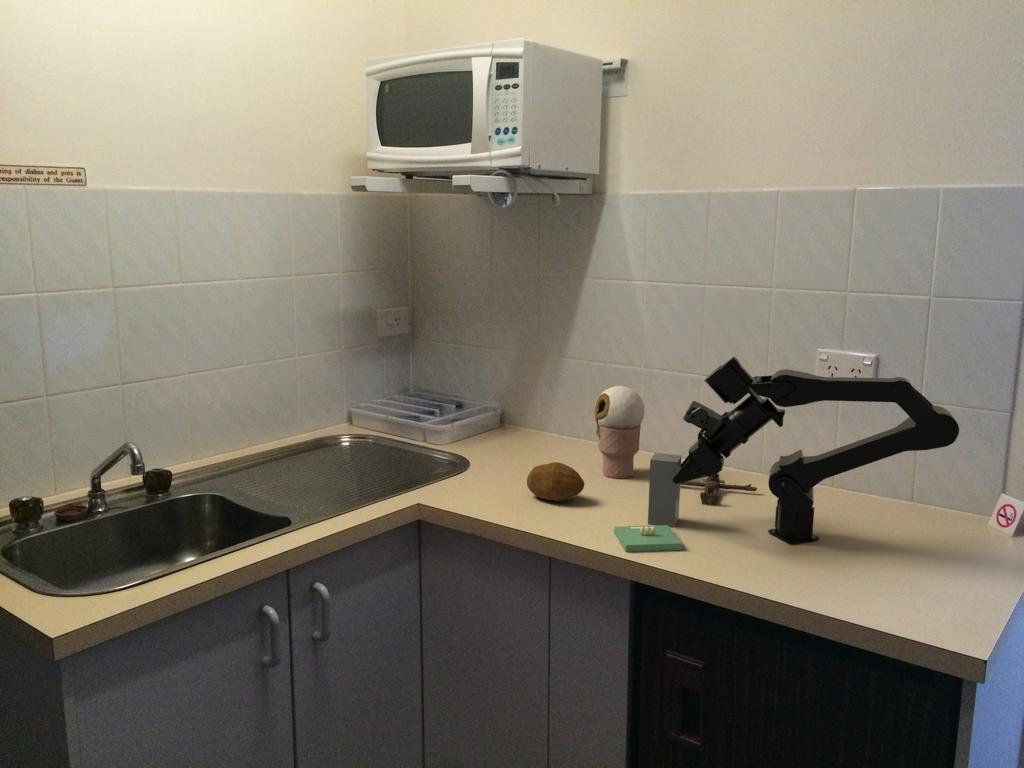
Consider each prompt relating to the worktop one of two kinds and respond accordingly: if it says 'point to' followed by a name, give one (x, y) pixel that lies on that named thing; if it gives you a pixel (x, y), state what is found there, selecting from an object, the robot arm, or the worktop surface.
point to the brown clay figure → (715, 488)
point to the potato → (554, 482)
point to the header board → (647, 538)
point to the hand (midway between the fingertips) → (677, 474)
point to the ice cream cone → (618, 429)
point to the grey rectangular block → (664, 490)
